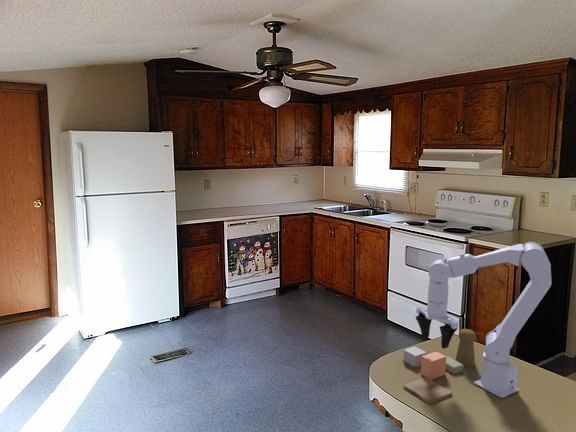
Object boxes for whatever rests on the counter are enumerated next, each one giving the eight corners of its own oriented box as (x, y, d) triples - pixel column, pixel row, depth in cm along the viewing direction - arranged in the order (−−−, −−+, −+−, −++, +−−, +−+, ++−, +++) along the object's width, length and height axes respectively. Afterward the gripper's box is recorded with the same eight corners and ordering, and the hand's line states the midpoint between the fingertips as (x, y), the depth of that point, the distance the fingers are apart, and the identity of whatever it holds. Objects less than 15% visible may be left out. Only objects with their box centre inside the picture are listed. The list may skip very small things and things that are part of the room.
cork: (471, 368, 150) (474, 336, 148) (452, 363, 153) (454, 331, 151) (477, 361, 154) (480, 329, 152) (458, 356, 158) (460, 325, 156)
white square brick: (426, 363, 153) (426, 352, 152) (414, 367, 150) (415, 356, 150) (414, 357, 157) (415, 346, 156) (403, 361, 154) (404, 349, 154)
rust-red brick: (445, 374, 146) (446, 356, 145) (430, 380, 143) (431, 361, 142) (435, 369, 149) (436, 351, 148) (420, 374, 146) (421, 356, 145)
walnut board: (452, 395, 134) (452, 392, 134) (429, 404, 130) (430, 401, 130) (425, 379, 143) (425, 377, 143) (403, 387, 138) (403, 385, 138)
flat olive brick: (462, 371, 148) (463, 364, 148) (453, 374, 146) (454, 367, 146) (447, 363, 154) (447, 356, 153) (438, 365, 152) (438, 358, 152)
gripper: (410, 295, 146) (408, 336, 148) (448, 310, 134) (445, 355, 136) (426, 291, 149) (423, 331, 152) (464, 305, 137) (461, 349, 140)
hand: (434, 342), depth 144 cm, fingers open, 7 cm apart
